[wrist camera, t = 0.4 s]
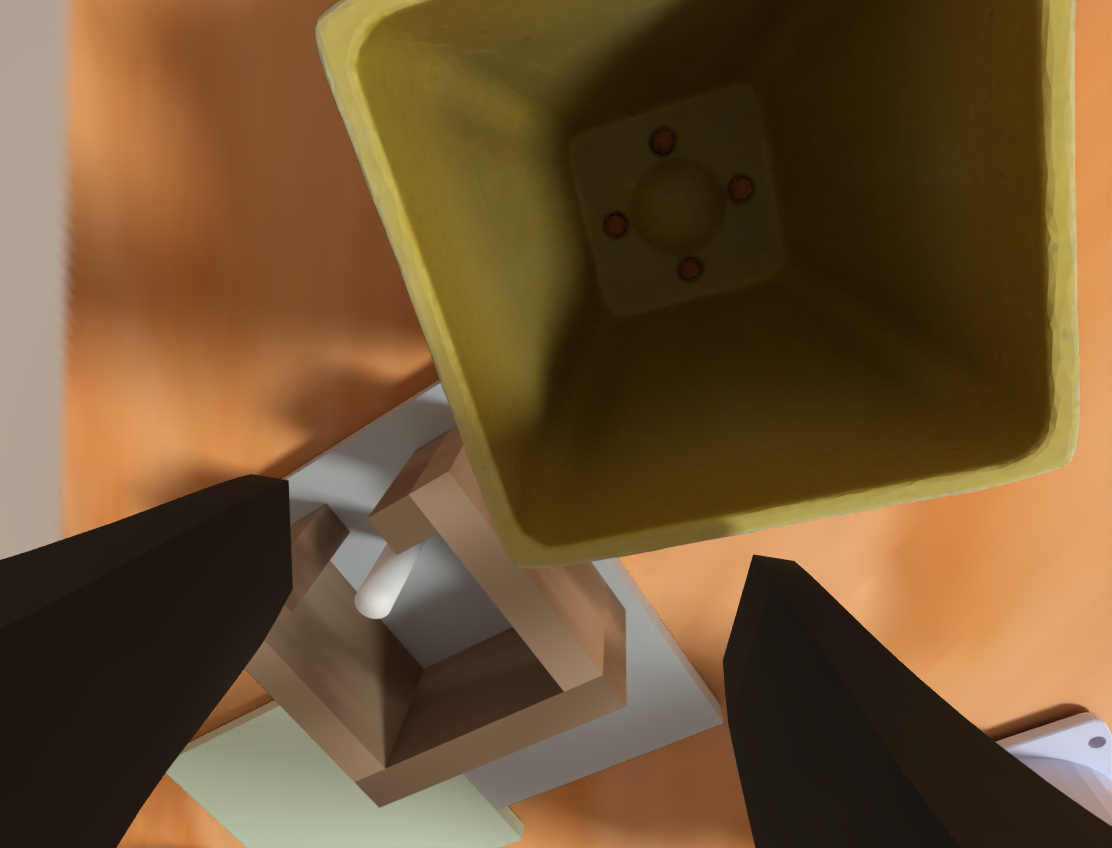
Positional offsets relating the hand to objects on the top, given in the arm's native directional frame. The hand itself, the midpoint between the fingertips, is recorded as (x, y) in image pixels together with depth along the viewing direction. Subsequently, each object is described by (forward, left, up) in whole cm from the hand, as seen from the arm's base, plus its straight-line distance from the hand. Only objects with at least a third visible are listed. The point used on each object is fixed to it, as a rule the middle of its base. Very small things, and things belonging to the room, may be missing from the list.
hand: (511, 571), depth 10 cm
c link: (-3, +7, -9) cm, 11 cm away
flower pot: (+2, -5, -10) cm, 11 cm away
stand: (-6, +7, -10) cm, 13 cm away
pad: (-10, +17, -10) cm, 22 cm away
